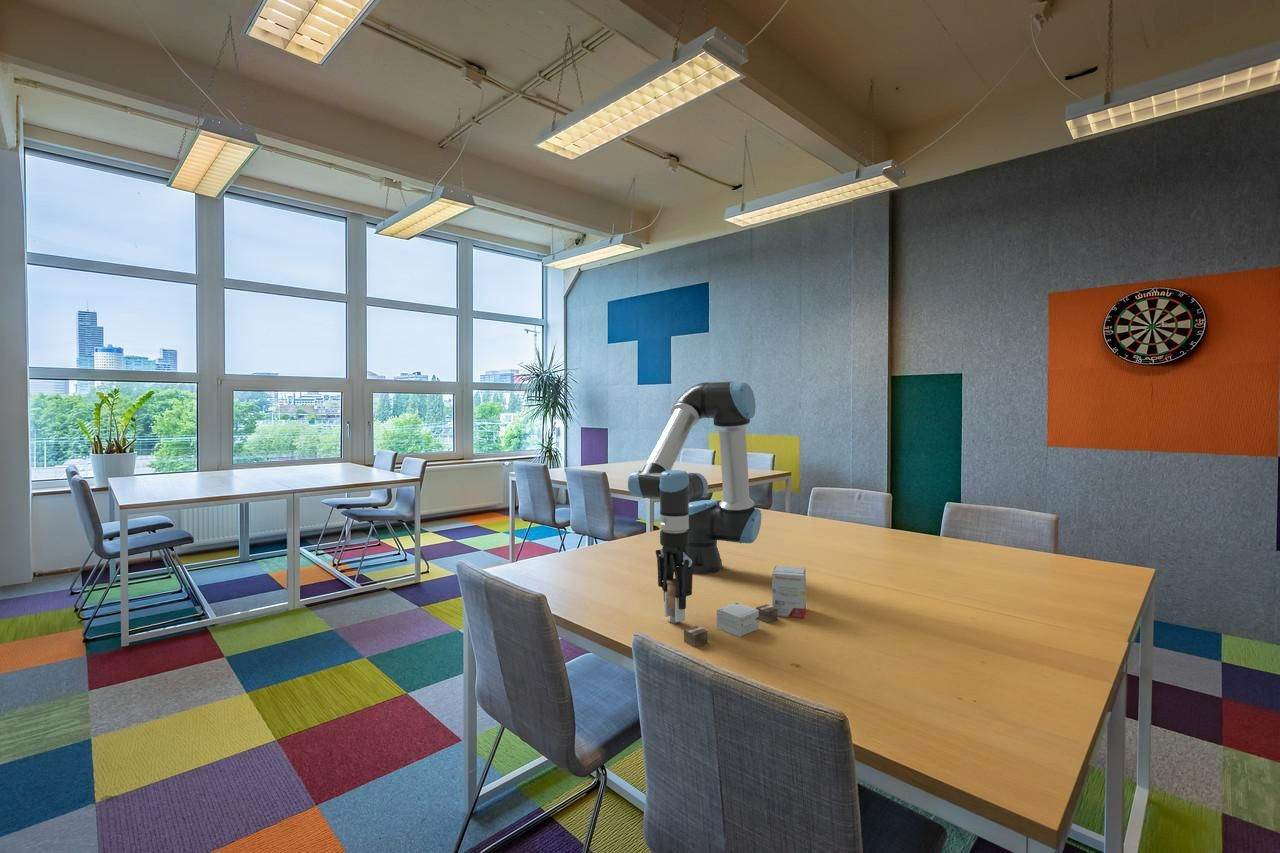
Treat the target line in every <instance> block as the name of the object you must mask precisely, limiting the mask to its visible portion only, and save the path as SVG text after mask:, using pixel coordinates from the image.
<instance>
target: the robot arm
mask: <svg viewBox="0 0 1280 853" xmlns="http://www.w3.org/2000/svg"><path fill="white" fill-rule="evenodd" d="M756 408H757V406H756V399H755V395H754V391H753V389H752V387H751V386H750V384H748V383H747V382H743V381H717V382H716V381H715V382H714V381H713V382H712V381H711V382H705V381H704V382H700V383H699V382H698V383H697V384H695V385H692V386H691V387H690V388H688V389H687V390H686V391H684V392H683V393H682V394H681V395H680V396H678V398H677V399H676V401H675V402H674V403H673V405H672V407H671V409H670V414H671V416H670V417H669V419H668V422H667V423H666V425H665V427H664V429H663V431H662V432H661V434H660V437H659V438H658V440H657V442H656V444H655V446H654V447H653V449H652V452H651V453H650V455H649V457H648V459H647V461H646V462H645V465H644V466H643V468H642V470H634V471H632V472H631V473H630V474H629V475H628V479H627V489H628V492H629V494H630V495H631V496H634V497H637V498H641V499H642V498H643V499H657V500H659V517H660V518H659V520H660V521H659V522H660V523H659V525H660V526H659V528H660V529H661V530H660V532H659V543H660V545H661V547H662V548H661V549H656V550H655V555H656V560H657V584H658V585H657V586H658V587H659V588H662V591H663V602H664V617H666V618H667V617H670V609H669V608H668V607H667V580H668V579H672V578H675V581H676V589H677V595H676V596H675V621H676V622H679V623H680V622H682V621H685V620H686V608H687V597H689V596H692V595H693V574H713V573H718V572H720V571H721V570H722V569H723V561H722V558H721V555H720V552H719V549H718V541H722V542H730V543H737V544H753V543H754V542H755V541H756V539H757V538H758V536H759V534H760V529H761V526H762V525H761V524H762V511H761V510H760V509H759V508H756V505H755V504H756V503H755V501H754V500H753V499H752V498H751V497H750V485H749V484H750V483H749V482H750V481H749V467H748V466H749V465H748V464H749V463H748V450H747V449H748V448H747V432H746V428H747V427H749V425H750V424H751V419H753V418H754V416H755V413H756ZM701 419H713V426H714V427H715V428H717V429H718V435H719V436H718V440H719V452H720V465H721V466H720V469H721V481H722V482H721V483H722V484H721V486H722V497H723V499H721V501H720V502H719V504H718V502H717V500H715V499H703V500H700V499H702V498H703V497H704V496H705V495H706V494H707V492H708V489H709V484H708V481H707V479H706V477H705V476H704V475H703V474H701V473H698V472H689V473H688V472H687V471H686V470H679V469H676V470H674V469H673V466H674V465H675V463H676V461H677V459H678V457H679V455H680V453H681V450H682V449H683V446H684V444H685V442H686V440H687V439H688V437H689V435H690V432H691V430H692V429H693V427H695V426H696V425H698V423H699V421H700V420H701ZM681 591H682V592H681Z"/></svg>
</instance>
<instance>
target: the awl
mask: <svg viewBox="0 0 1280 853" xmlns="http://www.w3.org/2000/svg"><path fill="white" fill-rule="evenodd" d="M681 592H682V591H681ZM676 595H677V589H676V581H675V577H673V578H672V579H668V580H667V607H668V608H669V609H670V616H669V620H670V621H669V622H670V624H674V625H675V624H680V621H679V622H676V621H675V596H676Z"/></svg>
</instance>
